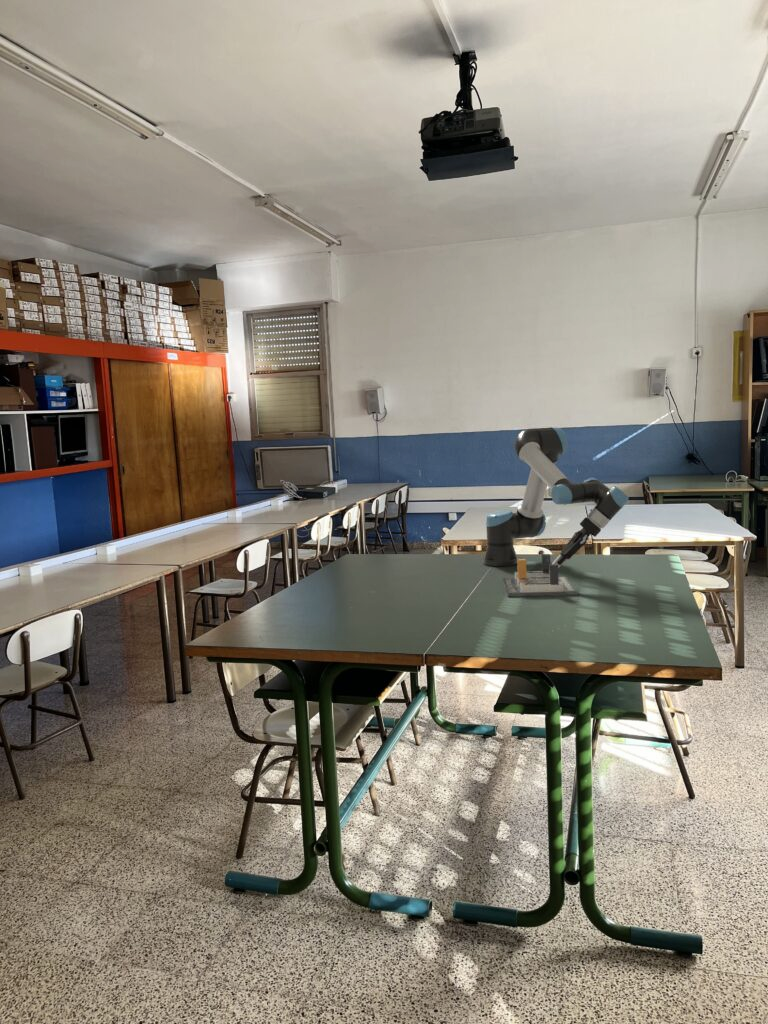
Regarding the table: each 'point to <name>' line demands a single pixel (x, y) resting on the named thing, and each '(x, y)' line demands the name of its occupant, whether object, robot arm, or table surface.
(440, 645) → the table surface
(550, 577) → the breaker panel
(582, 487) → the robot arm
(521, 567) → the breaker handle
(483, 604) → the table surface
